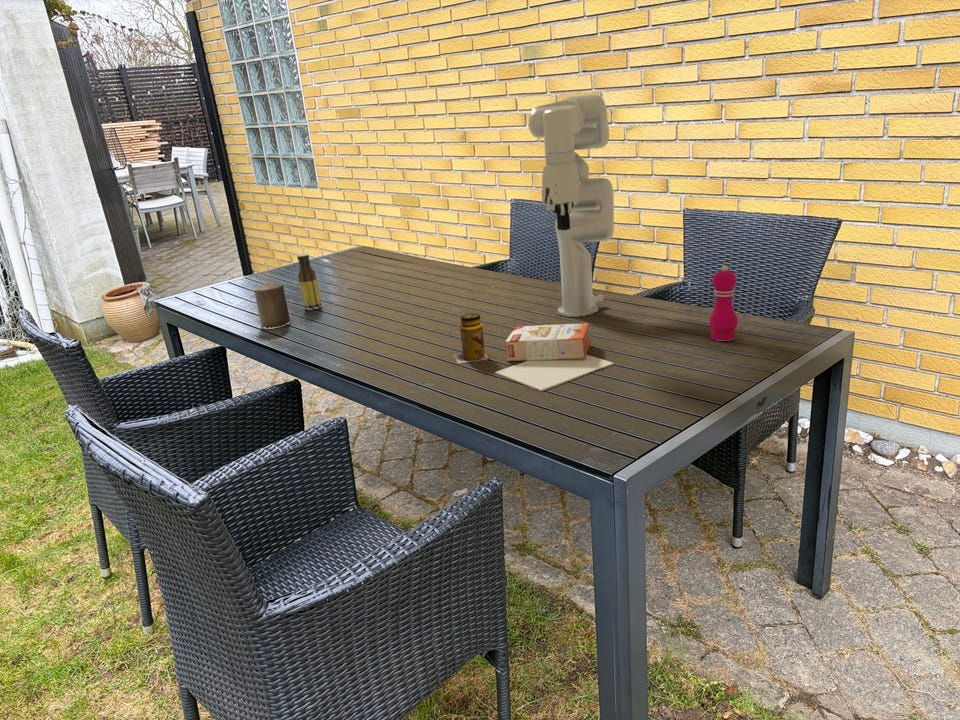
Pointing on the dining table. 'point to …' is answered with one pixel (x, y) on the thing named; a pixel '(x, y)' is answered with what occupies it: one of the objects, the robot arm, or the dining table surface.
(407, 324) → the dining table surface
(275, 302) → the pillar candle
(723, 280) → the pepper mill
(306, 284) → the sauce bottle
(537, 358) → the cracker box
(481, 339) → the condiment
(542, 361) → the mat
